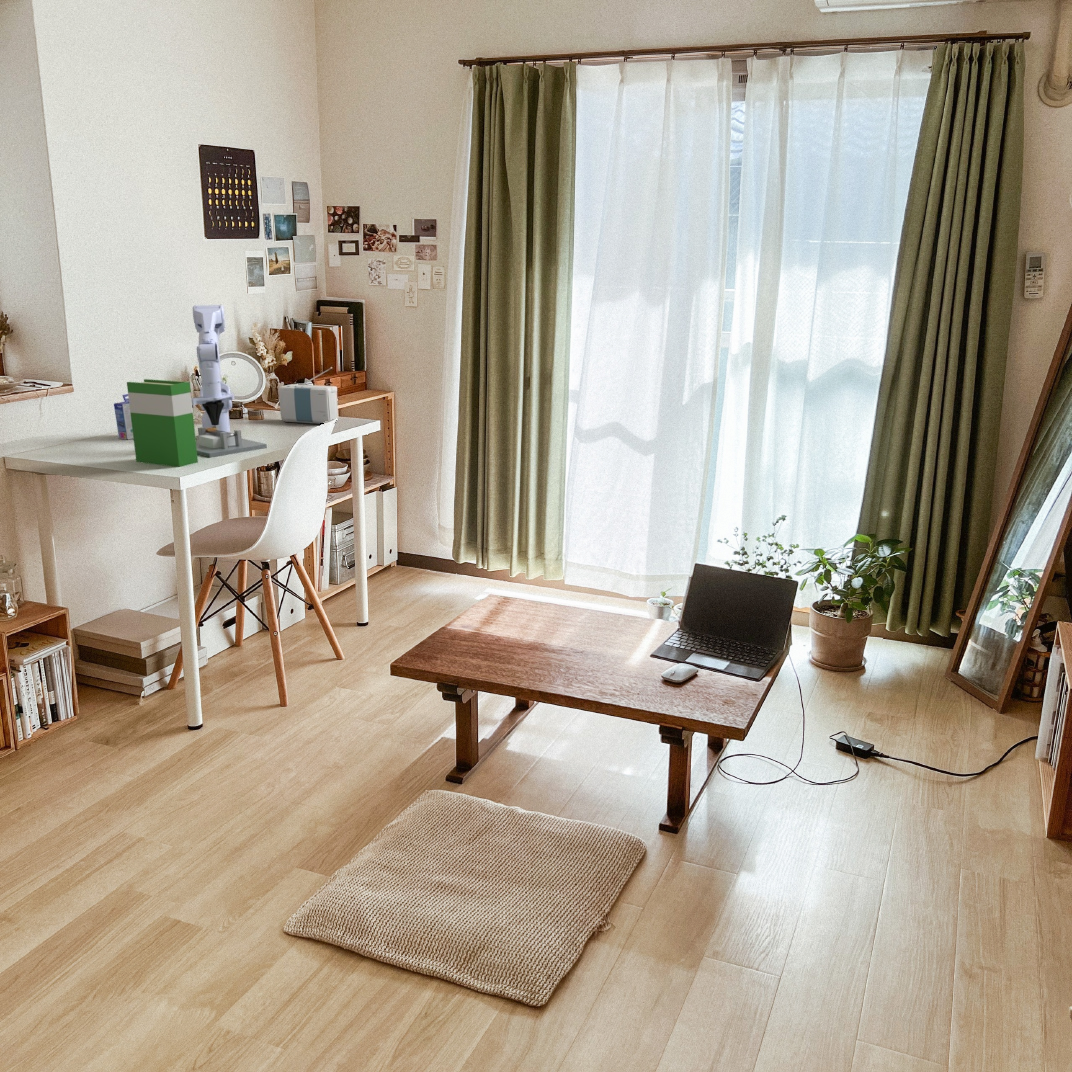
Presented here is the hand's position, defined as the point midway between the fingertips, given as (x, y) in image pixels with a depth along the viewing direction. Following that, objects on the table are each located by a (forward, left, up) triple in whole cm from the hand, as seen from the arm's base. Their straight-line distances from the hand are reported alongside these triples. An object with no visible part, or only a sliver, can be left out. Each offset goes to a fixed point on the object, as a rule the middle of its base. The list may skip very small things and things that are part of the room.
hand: (215, 425), depth 330 cm
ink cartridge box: (-38, -9, -7) cm, 40 cm away
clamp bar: (+2, 0, -3) cm, 4 cm away
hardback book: (+9, -22, -7) cm, 25 cm away
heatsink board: (+2, 0, -7) cm, 8 cm away
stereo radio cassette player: (-16, +47, -8) cm, 50 cm away
